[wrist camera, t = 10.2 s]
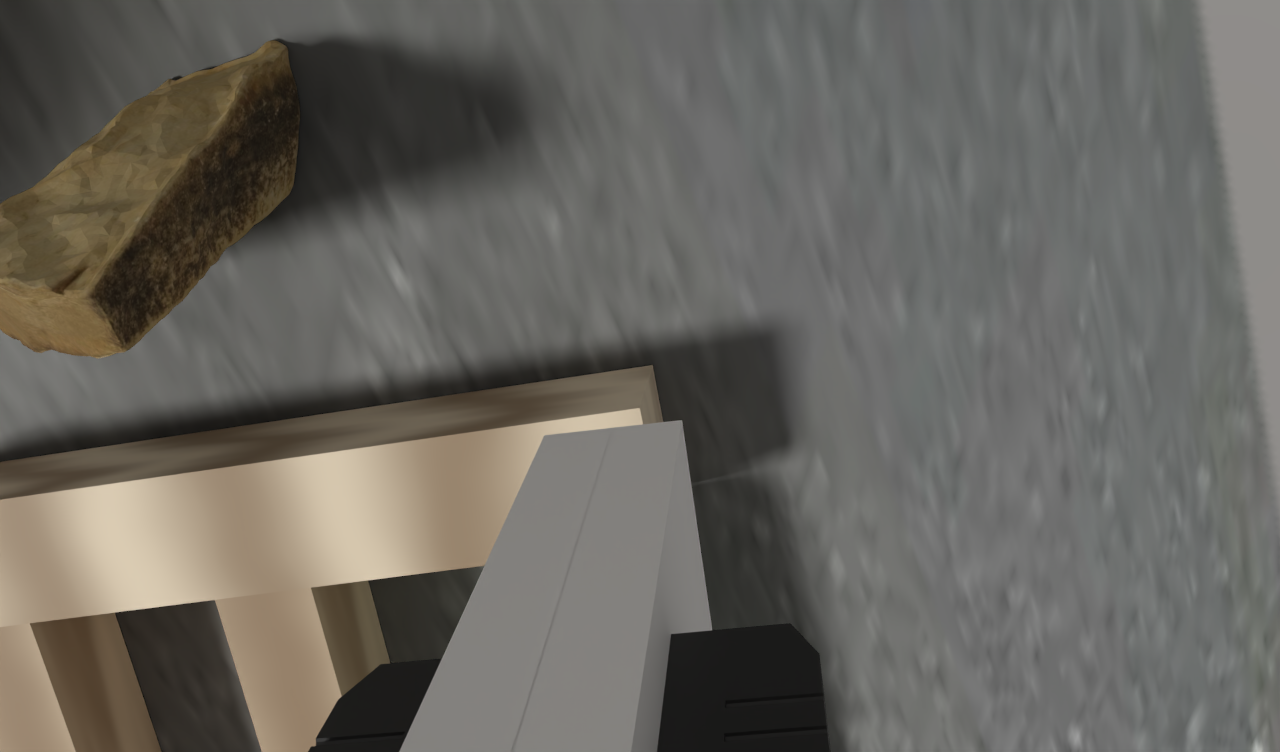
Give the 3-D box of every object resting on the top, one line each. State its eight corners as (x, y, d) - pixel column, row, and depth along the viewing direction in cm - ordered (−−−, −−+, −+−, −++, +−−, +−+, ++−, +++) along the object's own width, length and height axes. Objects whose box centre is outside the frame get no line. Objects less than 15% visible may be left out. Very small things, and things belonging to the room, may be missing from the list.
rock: (-45, 397, 37) (257, 445, 35) (-286, 276, 29) (85, 328, 27) (77, 91, 40) (358, 117, 38) (-108, -94, 32) (233, -72, 30)
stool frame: (76, 852, 44) (12, 933, 40) (-64, 471, 40) (-151, 521, 36) (731, 789, 41) (728, 871, 37) (652, 364, 37) (640, 408, 33)
